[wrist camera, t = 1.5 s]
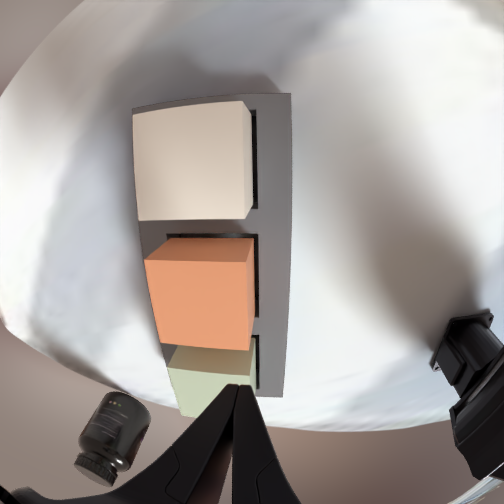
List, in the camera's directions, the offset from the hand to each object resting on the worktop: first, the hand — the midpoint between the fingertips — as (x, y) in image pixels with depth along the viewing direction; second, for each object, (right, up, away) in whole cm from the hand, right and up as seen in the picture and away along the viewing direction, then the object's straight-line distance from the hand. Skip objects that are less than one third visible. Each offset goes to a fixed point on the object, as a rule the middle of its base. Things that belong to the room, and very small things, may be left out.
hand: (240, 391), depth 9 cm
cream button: (-2, +10, +7) cm, 13 cm away
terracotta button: (-2, +3, +9) cm, 10 cm away
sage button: (-2, -4, +12) cm, 13 cm away
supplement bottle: (-15, -15, +20) cm, 29 cm away
